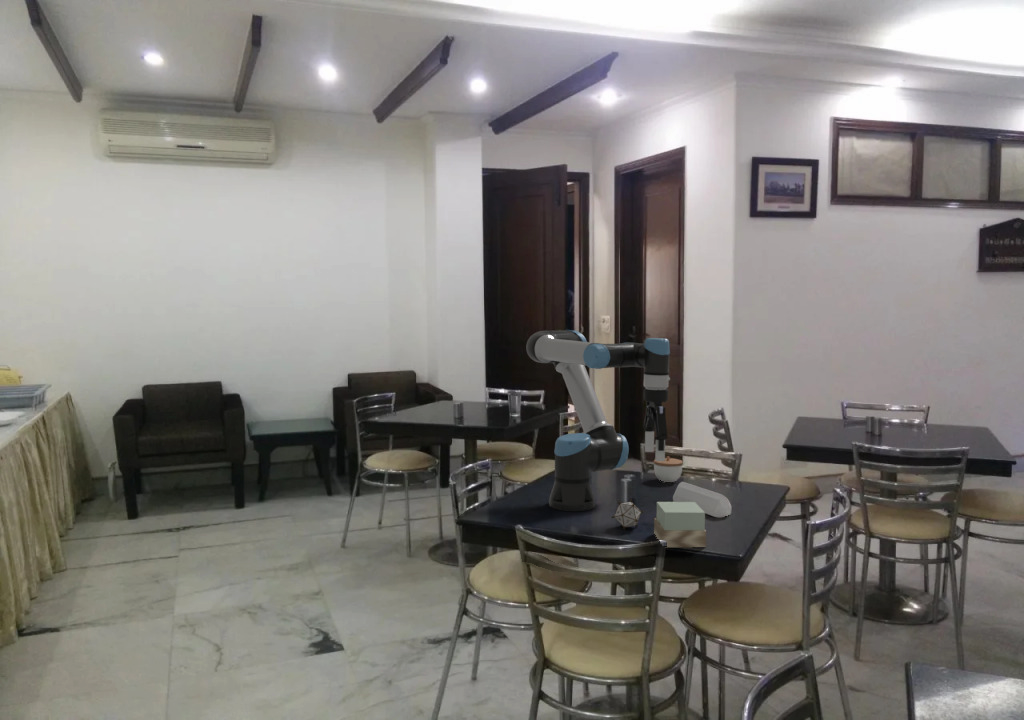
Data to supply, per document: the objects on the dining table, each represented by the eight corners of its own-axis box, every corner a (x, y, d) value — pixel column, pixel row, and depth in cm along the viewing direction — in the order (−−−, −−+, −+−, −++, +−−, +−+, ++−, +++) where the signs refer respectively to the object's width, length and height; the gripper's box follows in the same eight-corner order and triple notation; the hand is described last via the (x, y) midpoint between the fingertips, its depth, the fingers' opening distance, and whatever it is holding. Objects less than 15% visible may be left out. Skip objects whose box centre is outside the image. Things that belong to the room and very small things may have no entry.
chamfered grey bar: (664, 490, 253) (713, 508, 232) (679, 478, 256) (728, 494, 234) (673, 508, 255) (721, 527, 234) (687, 496, 258) (737, 513, 236)
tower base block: (661, 548, 206) (662, 530, 205) (654, 535, 218) (654, 518, 217) (705, 548, 206) (706, 530, 205) (695, 535, 218) (695, 518, 217)
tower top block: (664, 530, 206) (664, 512, 205) (656, 518, 216) (656, 501, 216) (704, 530, 206) (705, 512, 205) (694, 519, 217) (694, 502, 216)
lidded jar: (648, 478, 288) (649, 454, 287) (674, 477, 290) (675, 453, 290) (660, 485, 277) (661, 459, 277) (687, 483, 280) (687, 458, 279)
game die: (633, 541, 223) (646, 519, 217) (606, 530, 223) (619, 509, 217) (635, 519, 230) (648, 498, 224) (609, 509, 230) (622, 488, 224)
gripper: (679, 393, 219) (677, 464, 221) (658, 383, 244) (656, 448, 245) (653, 393, 218) (652, 465, 220) (635, 383, 243) (633, 448, 245)
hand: (654, 456), depth 233 cm, fingers open, 13 cm apart
